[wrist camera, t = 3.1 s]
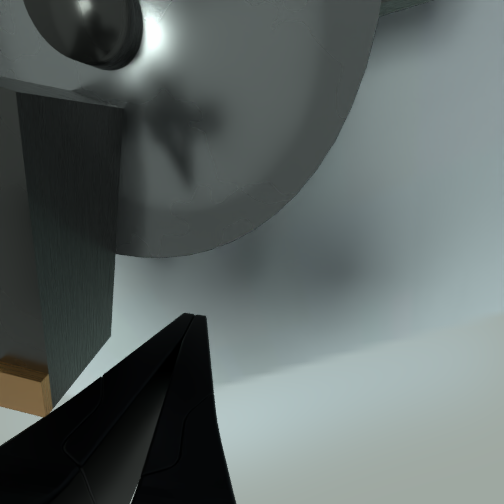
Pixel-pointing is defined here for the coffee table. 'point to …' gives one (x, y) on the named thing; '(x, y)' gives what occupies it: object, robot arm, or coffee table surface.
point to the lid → (149, 149)
